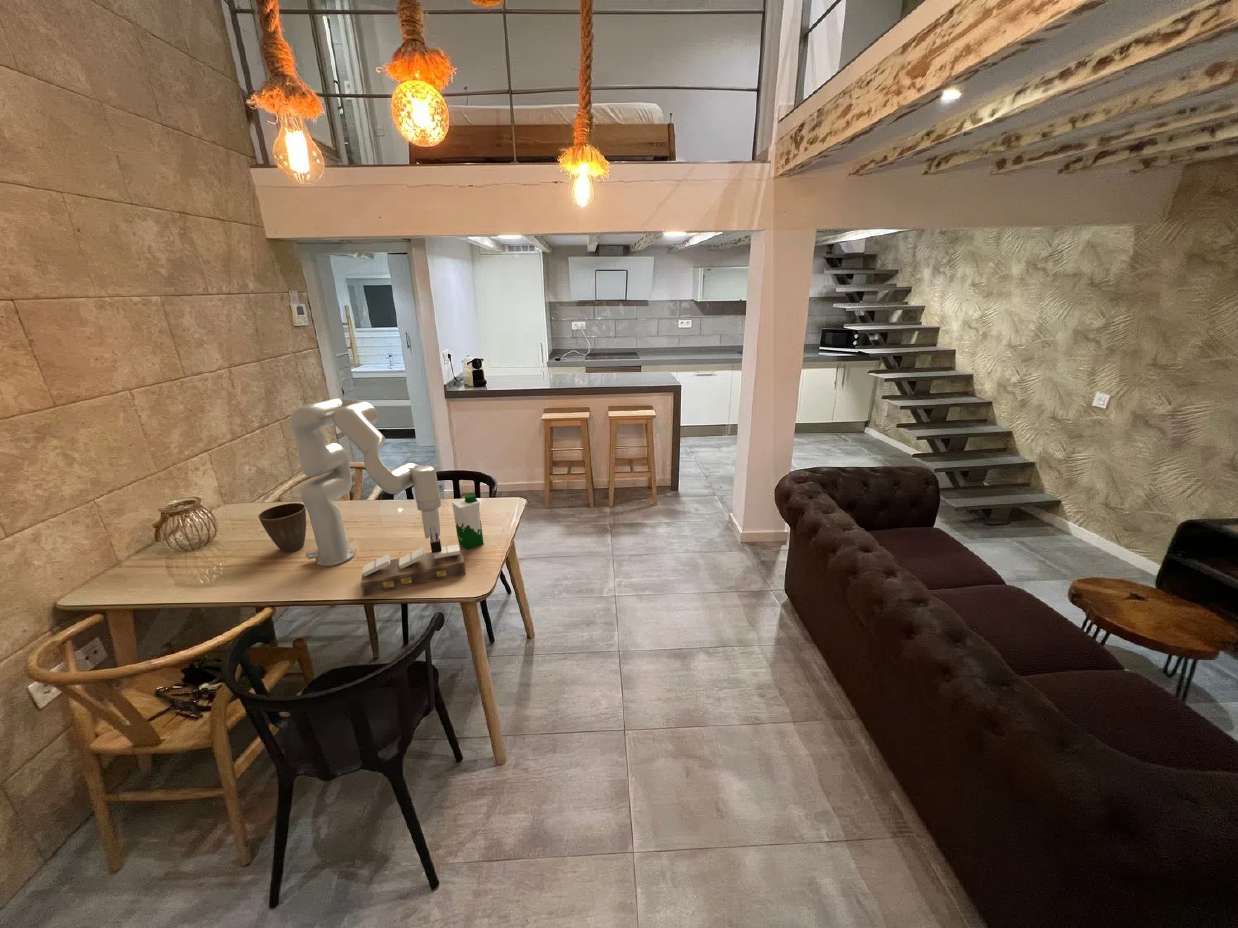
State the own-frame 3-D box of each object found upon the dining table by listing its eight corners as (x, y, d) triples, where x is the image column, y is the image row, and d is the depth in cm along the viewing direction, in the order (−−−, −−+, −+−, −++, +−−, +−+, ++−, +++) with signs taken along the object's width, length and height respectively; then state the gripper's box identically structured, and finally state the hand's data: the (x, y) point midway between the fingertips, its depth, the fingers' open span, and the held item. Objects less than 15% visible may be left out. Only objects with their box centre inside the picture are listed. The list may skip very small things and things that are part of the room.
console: (363, 596, 156) (359, 580, 154) (366, 577, 167) (363, 562, 165) (466, 574, 167) (463, 559, 165) (462, 558, 178) (460, 543, 176)
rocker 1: (364, 576, 158) (362, 572, 157) (366, 568, 162) (363, 565, 162) (389, 564, 160) (387, 560, 159) (390, 557, 164) (388, 553, 164)
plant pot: (292, 559, 180) (282, 520, 175) (259, 556, 183) (248, 517, 178) (323, 540, 194) (314, 504, 189) (292, 537, 197) (282, 501, 192)
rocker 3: (434, 558, 165) (434, 554, 165) (434, 551, 170) (433, 547, 169) (460, 554, 168) (459, 550, 168) (459, 547, 173) (458, 543, 172)
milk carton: (486, 544, 188) (481, 497, 181) (464, 552, 182) (457, 503, 176) (477, 536, 194) (471, 490, 188) (455, 544, 189) (448, 496, 182)
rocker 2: (401, 569, 162) (398, 565, 161) (401, 561, 166) (399, 558, 166) (425, 557, 164) (422, 553, 163) (424, 550, 168) (422, 546, 168)
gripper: (416, 496, 166) (424, 543, 172) (416, 513, 153) (425, 563, 159) (439, 493, 169) (446, 539, 175) (441, 509, 156) (449, 558, 162)
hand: (436, 551), depth 167 cm, fingers closed
